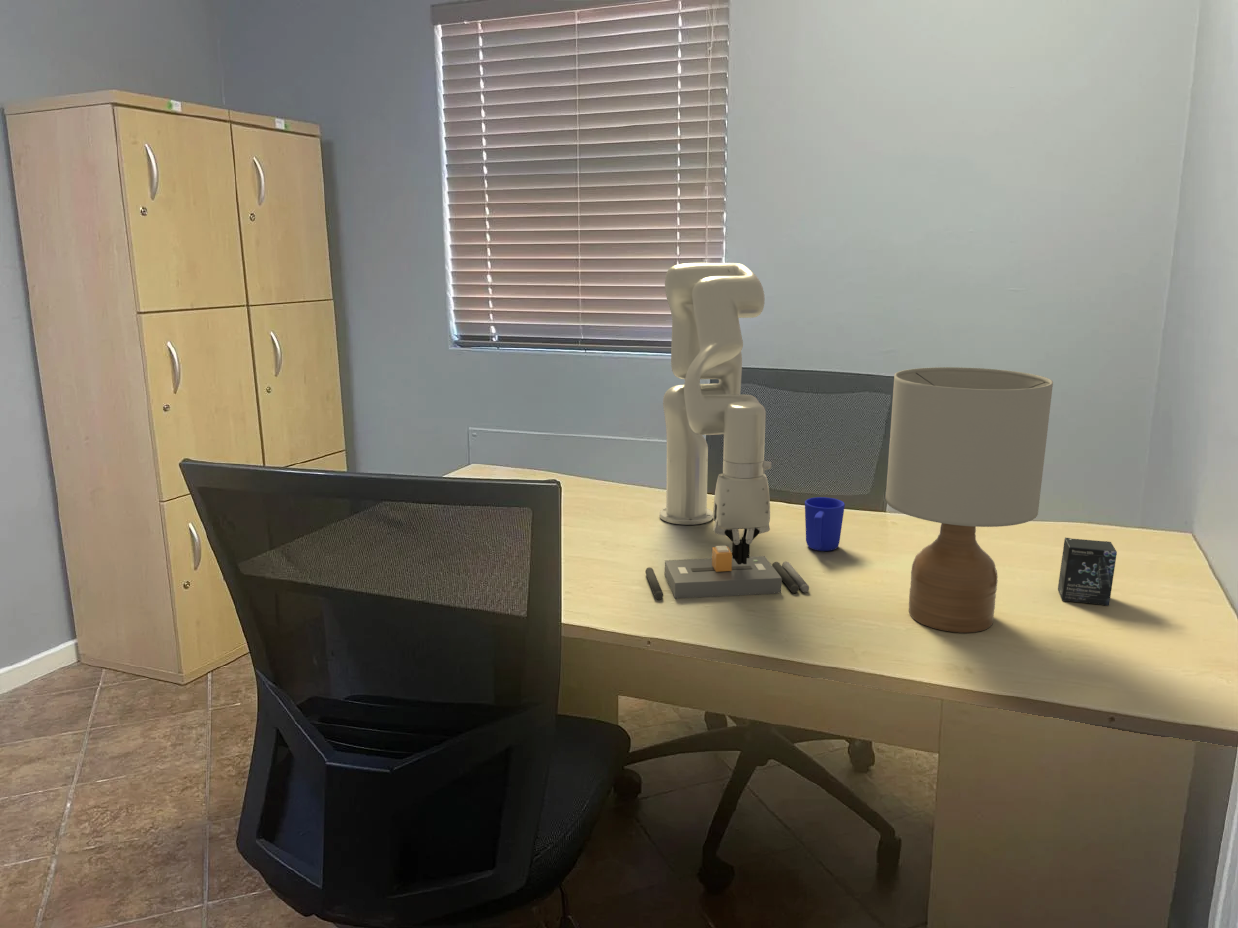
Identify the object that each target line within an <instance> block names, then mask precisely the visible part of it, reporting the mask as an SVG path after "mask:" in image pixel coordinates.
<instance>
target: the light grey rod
mask: <svg viewBox="0 0 1238 928" xmlns="http://www.w3.org/2000/svg"><path fill="white" fill-rule="evenodd" d="M781 566H782V567H783V568H784V569H785V571H786V572H787V573H788V574H789V576H790V577H791V578H792V579H793V581H794V582H795V583H796V584H797V586H798V587H799V590H800V591H801V592H803V593H808V592H809V590H810V586H809V584H808V583H807V582H806V581H805V580H804V579H803V577H802V576H801V575H800V574H799V573H798V571H797V569H796V568H794V566H792V564H791V563H790V562H789V561H786V560H785V561H783V562H782V564H781Z"/></svg>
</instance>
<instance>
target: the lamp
mask: <svg viewBox="0 0 1238 928" xmlns="http://www.w3.org/2000/svg"><path fill="white" fill-rule="evenodd" d="M893 378H894V379H893V388H892V389H893V390H892V391H893V392H892V403H891V405H892V406H891V416H890V417H891V420H890V431H889V433H890V434H889V435H890V436H889V446H888V447H889V448H888V463H887V476H886V487H885V488H886V489H885V490H886V491H885V503H886V504H887V505H888V506H889V507H891V508H892V509H893V510H895V511H897V512H899V513H901V514H905V515H907V516H910V517H913V518H917V519H919V520H923V521H924V520H925V521H927V522H932V523H933V522H934V523H938V524H940V526H939V527H940V528H939V534H938V536H937V538H935V540H934V541H933V542H932V543H929V544H928V545H927V546H925V547H923V548H922V550H920V551H919V552H918V553H916V554H915V556H914V559H913V562H912V564H911V571H910V588H909V594H908V595H909V596H908V597H909V598H908V613H909V615H910V616H911V618H912V619H913V620H915V621H916V622H917V623H919V624H920V625H923V626H926V627H929V628H931V629H935V630H938V631H944V632H951V633H959V634H960V633H965V634H967V633H968V634H969V633H970V634H971V633H977V632H982V631H985V630H988V629H990V628H991V627H992V626H993V623H994V621H995V620H994V615H995V608H996V607H995V606H996V596H997V590H998V589H997V588H998V582H999V581H998V577H999V576H998V570H997V568H996V564H995V561H994V559H992V557H991V556H990V555H989V554H988V553H987V552H986V551H985V550H984V549H983V548H982V547H981V546H980V544H979V543H978V540H977V535H976V531H977V528H979V527H980V528H995V527H996V528H998V527H1009V526H1017V525H1021V524H1026V523H1029V522H1031V521H1033V520H1034V519H1036V517H1038V515H1039V510H1040V509H1039V507H1040V499H1041V490H1042V482H1043V475H1044V474H1043V472H1044V463H1045V456H1046V446H1047V438H1048V430H1049V429H1048V428H1049V423H1050V422H1049V421H1050V413H1051V412H1050V411H1051V405H1052V404H1051V403H1052V395H1053V386H1054V381H1053V380H1052V379H1050V378H1048V377H1046V376H1041V375H1037V374H1035V373H1028V372H1022V371H1015V370H1009V369H1008V370H1007V369H996V368H995V369H994V368H984V367H983V368H981V367H978V368H977V367H962V366H961V367H959V366H957V367H956V366H954V367H953V366H949V367H947V366H946V367H945V366H944V367H943V366H942V367H939V366H938V367H936V366H935V367H933V366H932V367H921V368H920V367H918V368H910V369H903V370H900V371H897V372H895V373H894V377H893ZM976 527H977V528H976Z"/></svg>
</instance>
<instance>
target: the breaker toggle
mask: <svg viewBox="0 0 1238 928" xmlns="http://www.w3.org/2000/svg"><path fill="white" fill-rule="evenodd" d="M711 550H712V552H711V558H712V566H713V568H714V569H715V571H716V572H720V571H732V550H731V549H730V547H729V546H727V545H715V546H714V547H713V546H712V549H711Z"/></svg>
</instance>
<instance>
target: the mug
mask: <svg viewBox="0 0 1238 928" xmlns="http://www.w3.org/2000/svg"><path fill="white" fill-rule="evenodd" d="M845 505H846V504H845V502H844V501H842V500H840V499H838V498H833V497H823V496H822V497H821V496H819V497H818V496H817V497H815V496H814V497H810V498H807V499H806V500H804V514H805V515H804V517H805V519H804V520H805V521H804V523H805V542H806V545H807V546H808V547H809V549H812V550H814V551H818V552H819V551H820V552H831V551H834V550H836V549H837V548H838V547H839V546H840V540H841V534H842V528H843V527H842V526H843V521H844V520H843V519H844V512H845Z"/></svg>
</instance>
